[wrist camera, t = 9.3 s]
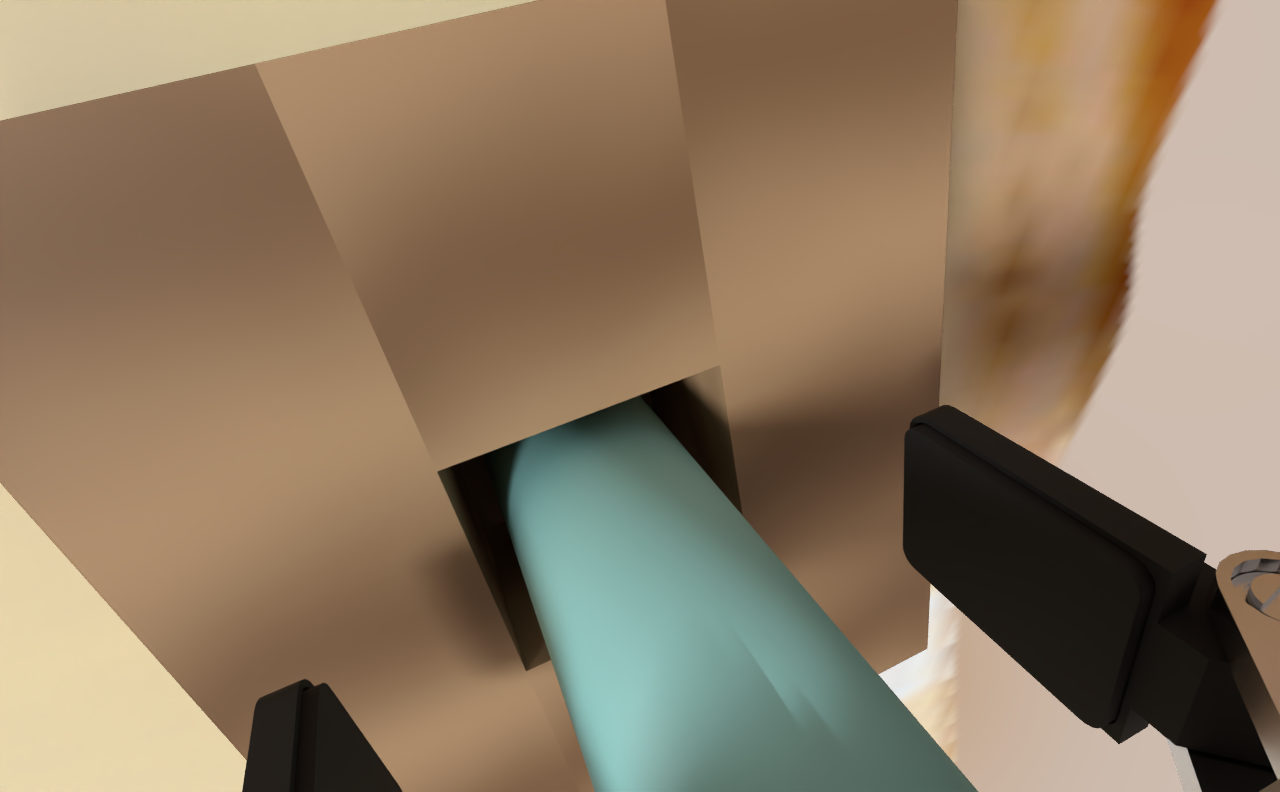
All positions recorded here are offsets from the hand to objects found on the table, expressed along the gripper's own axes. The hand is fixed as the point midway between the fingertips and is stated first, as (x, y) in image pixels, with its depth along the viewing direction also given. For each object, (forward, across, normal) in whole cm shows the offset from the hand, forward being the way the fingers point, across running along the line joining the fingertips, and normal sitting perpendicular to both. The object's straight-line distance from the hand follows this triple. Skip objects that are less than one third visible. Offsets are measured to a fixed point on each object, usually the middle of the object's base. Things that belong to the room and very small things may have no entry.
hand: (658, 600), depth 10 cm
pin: (+6, 0, 0) cm, 6 cm away
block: (+8, 0, 0) cm, 8 cm away
